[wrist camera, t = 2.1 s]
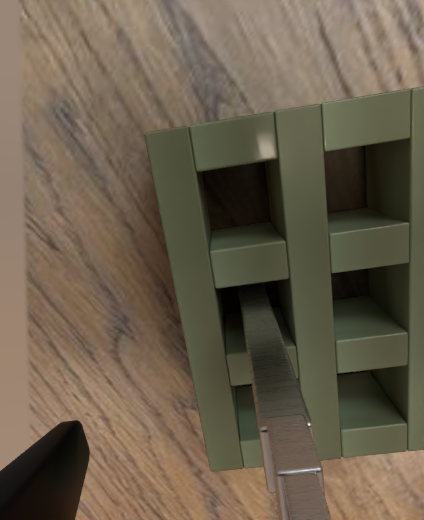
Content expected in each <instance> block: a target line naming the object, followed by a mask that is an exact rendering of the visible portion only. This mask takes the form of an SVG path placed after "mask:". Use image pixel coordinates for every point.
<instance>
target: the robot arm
mask: <svg viewBox="0 0 424 520" xmlns="http://www.w3.org/2000/svg"><path fill="white" fill-rule="evenodd" d="M89 456H90V451H89V446H88V442H87V439H86V436H85V433H84V430H83V427H82V424H81V423H80V422H79V421H77V420H75V421H66V422H62V423H60V424H58V425H57V426H56V427H55V428H53V429H52V430H51V431H50V432H48V433H47V434H46V435H45V436H43V437H42V438H41V439H40V440H38V441H37V442H36V443H35V444H33V445H32V446H31V447H30V448H28V449H27V450H26V451H25V452H24V453H22V454H21V455H20V456H18V457H17V458H16V459H15V460H14V461H12V462H11V463H10V464H9V465H7V466H6V467H5V468H4V469H2V470H1V471H0V520H75V517H76V513H77V509H78V504H79V500H80V496H81V492H82V487H83V483H84V479H85V475H86V471H87V466H88V462H89Z"/></svg>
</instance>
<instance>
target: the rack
mask: <svg viewBox="0 0 424 520" xmlns="http://www.w3.org/2000/svg"><path fill="white" fill-rule="evenodd" d="M144 136H145V141H146V147H147V152H148V157H149V162H150V167H151V172H152V177H153V182H154V187H155V192H156V197H157V202H158V207H159V213H160V218H161V223H162V228H163V233H164V238H165V243H166V248H167V253H168V258H169V263H170V268H171V273H172V278H173V284H174V289H175V294H176V299H177V304H178V309H179V314H180V319H181V324H182V329H183V334H184V339H185V344H186V350H187V355H188V360H189V365H190V370H191V375H192V380H193V385H194V390H195V395H196V400H197V405H198V410H199V415H200V421H201V426H202V431H203V436H204V441H205V446H206V451H207V456H208V461H209V466H210V470H211V471H212V472H214V471H224V470H233V469H242V468H243V466H244V468H255V467H264V464H263V457H262V450H261V443H260V436H259V430H258V423H257V416H256V409H255V402H254V395H253V388H252V385H249V386H240V387H235V386H237V385H245V384H252V382H251V375H250V368H249V361H248V354H247V347H246V340H245V334H244V327H243V320H242V313H241V312H240V313H232V314H226V315H225V316H224V310H223V304H222V298H221V291H220V288H225V287H232V286H240V285H247V284H254V283H261V282H269V281H276V280H278V290H279V299H280V308H281V309H280V308H279V307H277V308H272V310H273V312H274V315H275V318H276V321H277V324H278V327H279V329H280V332H281V335H282V338H283V341H284V344H285V347H286V349H287V352H288V355H289V358H290V361H291V364H292V366H293V369H294V372H295V375H296V378H297V381H298V384H299V386H300V389H301V392H302V395H303V398H304V401H305V403H306V406H307V409H308V412H309V415H310V418H311V420H312V423H313V431H314V443H315V447H316V450H317V453H318V456H319V459H320V461H321V460H331V459H340V458H341V457H343V458H347V457H357V456H367V455H376V454H386V453H395V452H405V451H407V450H408V451H416V450H424V86H423V87H417V88H412V89H404V90H398V91H392V92H386V93H380V94H374V95H368V96H362V97H356V98H350V99H344V100H338V101H332V102H326V103H322V104H314V105H308V106H302V107H296V108H290V109H284V110H278V111H275V112H274V113H273V112H266V113H260V114H254V115H248V116H242V117H236V118H230V119H224V120H218V121H212V122H206V123H200V124H194V125H191V126H190V127H188V126H182V127H176V128H170V129H164V130H158V131H152V132H146V133H145V135H144ZM359 146H365V156H366V194H367V208H359V209H353V210H346V211H339V212H332V213H327V200H326V183H325V167H324V152H327V151H334V150H340V149H346V148H353V147H359ZM264 161H265V167H266V176H267V186H268V195H269V204H270V214H271V222H265V223H259V224H252V225H245V226H238V227H231V228H225V229H218V230H213V231H212V232H211V228H210V221H209V215H208V209H207V202H206V196H205V189H204V183H203V177H202V171H207V170H213V169H220V168H226V167H232V166H239V165H245V164H251V163H258V162H264ZM367 268H368V270H369V296H361V297H353V298H346V299H338V300H332V285H331V273H338V272H345V271H352V270H360V269H367ZM363 370H371V372H360V373H352V374H343V375H337V373H347V372H355V371H363Z"/></svg>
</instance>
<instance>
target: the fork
mask: <svg viewBox="0 0 424 520" xmlns="http://www.w3.org/2000/svg"><path fill="white" fill-rule="evenodd" d="M238 292H239V299H240V306H241V313H242V320H243V327H244V334H245V340H246V347H247V354H248V361H249V368H250V375H251V382H252V388H253V395H254V402H255V409H256V416H257V423H258V430H259V436H260V443H261V450H262V457H263V464H264V471H265V478H266V484H267V489H268V491H269V492H270V493H276V499H277V507H278V513H279V519H280V520H332V519H331V516H330V513H329V509H328V506H327V503H326V500H325V492H324V479H323V468H322V465H321V462H320V459H319V456H318V453H317V450H316V447H315V443H314V431H313V423H312V420H311V418H310V415H309V412H308V409H307V406H306V403H305V401H304V398H303V395H302V392H301V389H300V386H299V384H298V381H297V378H296V375H295V372H294V369H293V366H292V364H291V361H290V358H289V355H288V352H287V349H286V347H285V344H284V341H283V338H282V335H281V332H280V329H279V327H278V324H277V321H276V318H275V315H274V312H273V310H272V307H271V304H270V301H269V298H268V295H267V293H266V290H265V287H264V284H263V282H261V283H254V284H247V285H240V286H238Z"/></svg>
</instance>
